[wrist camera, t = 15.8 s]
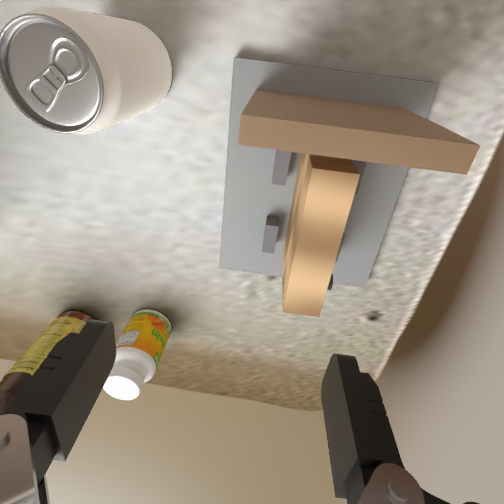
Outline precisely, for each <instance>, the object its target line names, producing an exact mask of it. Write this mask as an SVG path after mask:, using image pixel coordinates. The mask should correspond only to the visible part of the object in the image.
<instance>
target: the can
mask: <svg viewBox="0 0 504 504" xmlns="http://www.w3.org/2000/svg"><path fill="white" fill-rule="evenodd" d="M0 78H1V81H2V83H3V85H4V87H5V89H6V91H7V93H8V95H9V96H10V98H11V99H12V101H13V102H14V103H15V105H16V106H17V107H18V108H19V109H20V110H21V111H22V112H23V113H24V114H25V115H26V116H27V117H28V118H29V119H31V120H32V121H33V122H35V123H36V124H38V125H40V126H41V127H43V128H46V129H48V130H51V131H54V132H58V133H73V134H91V133H96V132H99V131H101V130H104V129H106V128H109V127H111V126H113V125H115V124H118V123H120V122H122V121H124V120H127V119H129V118H131V117H133V116H135V115H137V114H140V113H142V112H144V111H146V110H148V109H150V108H152V107H154V106H156V105H157V104H159V103H160V102H161V101H162V100H163V99H164V98H165V96H166V95H167V93H168V91H169V88H170V85H171V80H172V67H171V61H170V57H169V54H168V52H167V49H166V47H165V46H164V44H163V43H162V41H161V40H160V39H159V38H158V36H157V35H156V34H155V33H154V32H152V31H151V30H150V29H149V28H147V27H146V26H144V25H142V24H140V23H138V22H135V21H131V20H126V19H122V18H116V17H111V16H106V15H101V14H95V13H90V12H84V11H79V10H73V9H67V8H59V7H43V8H38V9H35V10H32V11H30V12H28V13H27V14H24V15H20V16H18V17H16V18H14V19H12V20H11V21H10V22H9V23H8V24H7V25H6V26H5V27H4V28H3V30H2V32H1V34H0Z"/></svg>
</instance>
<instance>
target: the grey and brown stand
mask: <svg viewBox="0 0 504 504" xmlns="http://www.w3.org/2000/svg"><path fill="white" fill-rule="evenodd" d="M438 86H439V84H438V83H434V82H426V81H418V80H410V79H403V78H395V77H387V76H379V75H371V74H364V73H356V72H348V71H340V70H332V69H325V68H317V67H309V66H301V65H293V64H286V63H278V62H270V61H262V60H254V59H247V58H239V57H234V62H233V76H232V91H231V105H230V120H229V135H228V149H227V164H226V178H225V193H224V208H223V222H222V237H221V252H220V266H219V268H222V269H229V270H237V271H244V272H252V273H259V274H267V275H274V276H282V277H283V256H282V254H283V248H284V243H285V238H286V232H287V227H288V221H289V216H290V210H291V205H292V199H293V194H294V189H295V183H296V178H297V172H298V167H299V161H300V156H301V153H305V154H313V155H320V156H328V157H336V158H343V159H351V160H352V162H353V164H354V165H355V167H356V169H357V170H358V172H359V173H360V177H359V180H358V184H357V187H356V191H355V194H354V198H353V201H352V205H351V208H350V212H349V215H348V219H347V222H346V226H345V229H344V232H343V236H342V239H341V243H340V246H339V250H338V253H337V257H336V260H335V264H334V267H333V271H332V274H333V283H334V284H341V285H349V286H356V287H364V288H365V286H366V283H367V280H368V278H369V275H370V272H371V269H372V267H373V264H374V261H375V258H376V256H377V253H378V250H379V248H380V245H381V242H382V239H383V237H384V234H385V231H386V228H387V226H388V223H389V220H390V217H391V215H392V212H393V209H394V206H395V204H396V201H397V198H398V195H399V193H400V190H401V187H402V185H403V182H404V179H405V176H406V174H407V171H408V168H409V167H412V168H420V169H428V170H435V171H443V172H451V173H458V174H466V175H467V173H468V171H469V169H470V166H471V164H472V162H473V160H474V158H475V156H476V153H477V151H478V149H479V147H480V145H478V144H476V143H474V142H472V141H470V140H468V139H466V138H464V137H462V136H460V135H458V134H456V133H454V132H452V131H450V130H448V129H446V128H444V127H442V126H440V125H438V124H436V123H434V122H431V121H429V120H427V116H428V113H429V111H430V108H431V105H432V102H433V100H434V97H435V94H436V91H437V89H438Z"/></svg>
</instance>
